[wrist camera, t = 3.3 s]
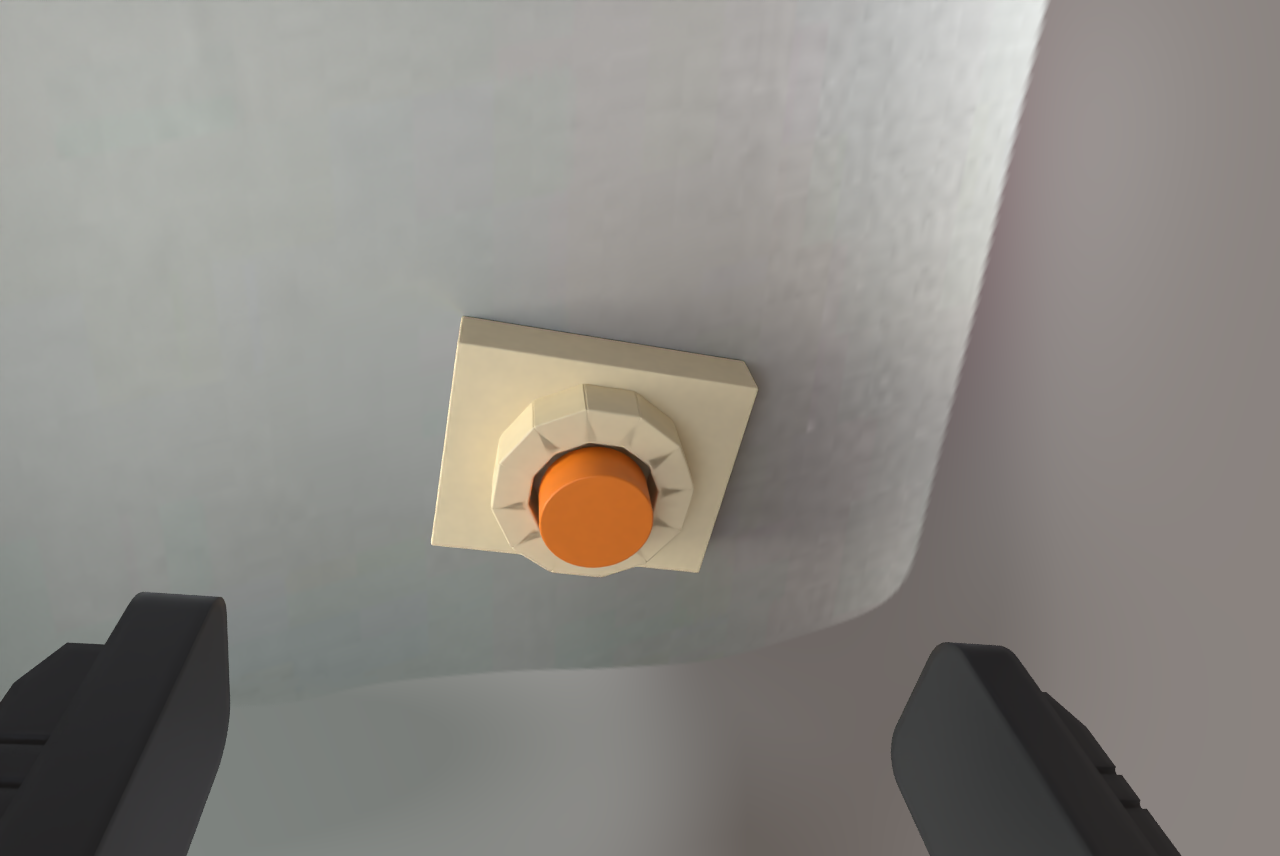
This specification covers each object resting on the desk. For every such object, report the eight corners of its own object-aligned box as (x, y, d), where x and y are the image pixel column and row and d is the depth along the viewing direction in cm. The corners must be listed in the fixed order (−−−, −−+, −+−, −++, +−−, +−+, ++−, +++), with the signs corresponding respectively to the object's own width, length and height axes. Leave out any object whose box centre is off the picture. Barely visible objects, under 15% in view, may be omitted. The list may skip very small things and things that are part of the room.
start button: (657, 453, 27) (665, 483, 26) (634, 541, 29) (639, 573, 28) (548, 438, 27) (549, 468, 25) (530, 529, 28) (530, 562, 27)
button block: (744, 360, 30) (772, 414, 27) (689, 538, 34) (707, 605, 30) (462, 315, 28) (453, 367, 25) (436, 509, 32) (425, 578, 28)
